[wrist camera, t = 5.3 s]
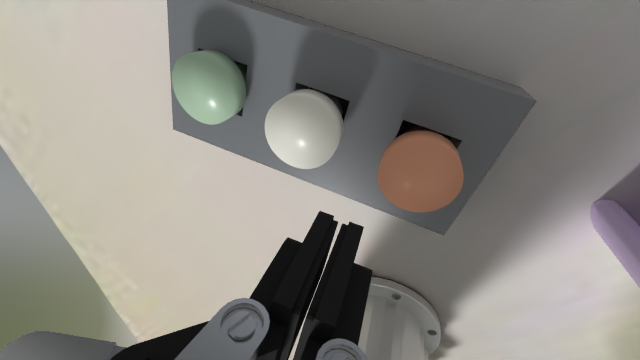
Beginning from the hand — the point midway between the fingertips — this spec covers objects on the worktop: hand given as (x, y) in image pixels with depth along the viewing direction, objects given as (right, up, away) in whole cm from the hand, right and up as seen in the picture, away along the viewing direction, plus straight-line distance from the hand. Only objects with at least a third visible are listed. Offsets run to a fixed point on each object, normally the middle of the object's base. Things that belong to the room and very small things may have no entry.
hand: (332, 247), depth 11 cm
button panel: (0, +8, +11) cm, 13 cm away
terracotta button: (+6, +5, +9) cm, 12 cm away
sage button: (-7, +10, +11) cm, 16 cm away
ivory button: (0, +7, +9) cm, 12 cm away
